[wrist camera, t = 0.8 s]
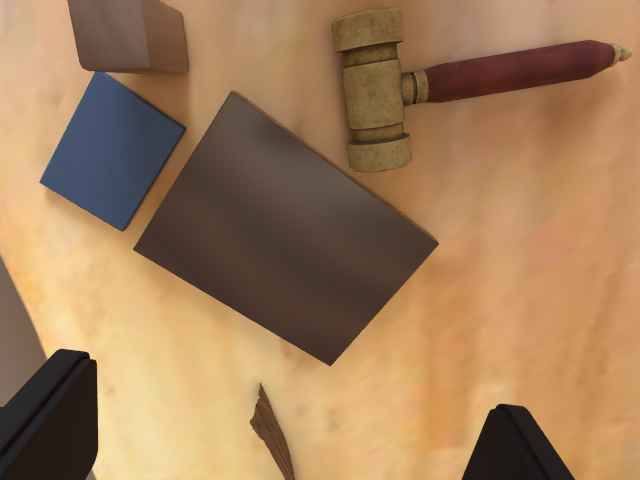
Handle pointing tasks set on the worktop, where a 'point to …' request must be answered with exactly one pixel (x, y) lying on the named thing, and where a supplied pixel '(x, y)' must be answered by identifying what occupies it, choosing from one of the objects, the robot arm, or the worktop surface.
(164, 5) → the wooden block
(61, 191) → the blue box
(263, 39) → the worktop surface
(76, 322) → the worktop surface
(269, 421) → the wood plank
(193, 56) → the worktop surface
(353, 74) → the gavel
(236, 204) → the walnut board
